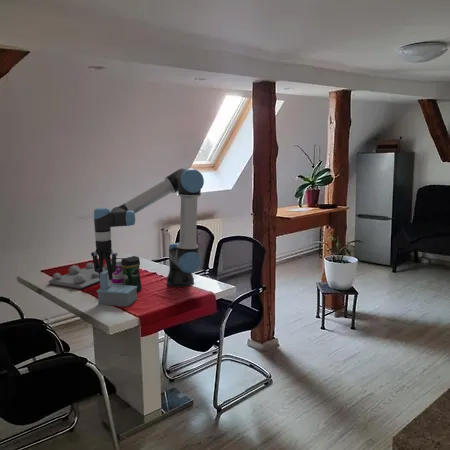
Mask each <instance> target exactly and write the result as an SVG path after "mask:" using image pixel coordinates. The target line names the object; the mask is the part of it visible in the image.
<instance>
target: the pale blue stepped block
mask: <svg viewBox="0 0 450 450" xmlns="http://www.w3.org/2000/svg"><path fill="white" fill-rule="evenodd" d="M107 273H108V270H105V271H103V272H102V273H100V282H99V285H100V287H99V288H98V289H97V290H96V293H98V292H101V293H114V294H127V295H128V294H129V293H131V292H132V291H134V290H135V289H136V288H137V286H132V285H130V286H126V285H111V286H110V287H108V286H107ZM111 284H112V280H111Z"/></svg>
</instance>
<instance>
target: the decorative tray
mask: <svg viewBox="0 0 450 450" xmlns="http://www.w3.org/2000/svg"><path fill="white" fill-rule="evenodd" d="M105 270H107V265H106V263H104V264H103V271H105ZM67 271H68V273H66V274H64V275H61V273H60V272H55V273H54V274H53V275H52V276H51V277H52V279H49V281H48V284H49V285H52V286H53V285H54V286H57V287H58V286H60V287H65V288H72V289H76V290H82V289H85V288H87V287H89V286H92V285H94V284H95V285H96V284H97V283H100V279H99V273H98V272H95V270H94V263H93V262H87V263H86V265H85V266H84V268H81V266H80V267H79V265H75V264H73V265H72V266H69V268H68V269H67Z"/></svg>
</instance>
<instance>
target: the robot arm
mask: <svg viewBox="0 0 450 450" xmlns="http://www.w3.org/2000/svg"><path fill="white" fill-rule="evenodd" d="M204 184H205V178H204V176H203V174H202V172H200V171H199V170H197V169H195V168H189V167H181V168H179V169H177V170H176V171H174V172H172V173H171V174H169V175H167V176H165V178H164V180H163V181H160V182H159V183H158V184H156V185H153V186H152V187H150V188H148V189H147V190H146V191H143V192H142V193H140V194H138V195H136V196H135V197H133V198H131V199H129V200H128V201H126V202H124V203H123V204H121V205H119V206H116V207H113V208H112V209H111V210H110V208H108V207H97V208H95V209H94V211H93V223H94V237H95V251H92V252H91V253H90V254H91V255H90V256H91V257H92V263H93V264H94V270H95V272H98V273H99V279H100V273H102V272H103V266H104V261H105V264H106V265H107V270H108V273H107V286H108V287H110V286H111V285H112V284H111V280H112V279H113V276H112V273H114V272H115V271H116V259H117V256H118V252H114V251H113V248H112V231H111V229H112V228H115V227H118V228H119V227H130V226H134V225H135V224H136V214H137V213H139V212H141V211H143V210H144V209H146V208H147V207H149V206H151V205H153V204H155V203H156V202H158V201H159V200H161V199H163V198H165V197H166V196H168V195H170V194H171V193H173V194H175V193H177V195H178V197H180V215H179V216H180V217H179V242H174V243H170V244H169V245H168V260H169V263H168V264H169V271H168V274H167V278H166V285H167V286H170V287H174V288H182V287H183V288H184V287H185V288H186V287H189V286H192V285H194V283H195V278H194V276H193V273H194V272H196V271H197V270H198V269H199V268H200V266H201V263H202V260H201V259H202V258H201V256H200V255H199V245H198V244H197V223H198V222H197V220H198V219H197V218H198V198H200V196H201V194H202V193H201V192H202V191H201V190H202V189H203V187H204ZM111 261H112V266H111ZM106 265H105V266H106Z"/></svg>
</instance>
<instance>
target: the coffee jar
mask: <svg viewBox="0 0 450 450" xmlns="http://www.w3.org/2000/svg"><path fill="white" fill-rule="evenodd" d="M139 257H140V256H135V255H132V256H128V257H125V258H124V257H123V258H121V259H122V260H121V266H122V268H123V285H126V286H130V285H132V286H137V292H139V291H141V290H142V289H143V288H142V280H141V275H140V265H141V261H140V258H139Z"/></svg>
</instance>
